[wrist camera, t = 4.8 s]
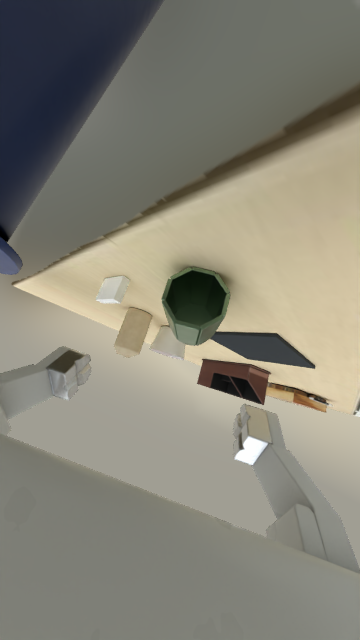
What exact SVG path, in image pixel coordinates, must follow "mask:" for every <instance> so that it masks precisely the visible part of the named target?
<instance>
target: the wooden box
mask: <svg viewBox="0 0 360 640" xmlns="http://www.w3.org/2000/svg"><path fill="white" fill-rule="evenodd" d="M266 395H267V396H270V397H273V398H276V399H279V400H282V401H286V402H289V403H293V404H297V405H300V406H304V407H307V408H311V409H315V410H318V411H322V412H326V407H327V406H332V407H333V405H332V404H329V403H326V400H324V399H321V398H319V397H317V396H314V395H308V394H306V393H304V392H303V391H299V390H296V389H292V388H289V387H285V386H280V385H276V384H272V383H267V389H266Z"/></svg>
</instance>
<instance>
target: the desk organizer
mask: <svg viewBox="0 0 360 640" xmlns="http://www.w3.org/2000/svg"><path fill="white" fill-rule="evenodd" d="M202 360H203V363H202V367H201V371H200V375H199V379H198V383H197V384H200V385H203V386H206V387H209V388H212V389H215V390H219V391H222V392H225V393H228V394H231V395H234V396H237V397H240V398H243V399H246V400H249V401H253V402H256V403H258V404H262V405H264V401H265V395H266V389H267V383H268V377H269V374H271V373H270V372H267V371H265V370H262V369H260V368H257V367H255V366H253V365H250V364H240V363H231V362H222V361H214V360H205V359H202Z"/></svg>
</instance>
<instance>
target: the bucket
mask: <svg viewBox="0 0 360 640" xmlns="http://www.w3.org/2000/svg"><path fill="white" fill-rule="evenodd" d="M229 293H230V291H229V290H228V288H227V287H226V285H225V284H224V282H223V281H222V279H221V278H220V276H219V275H218V274H215V272H214V271H209V270H205V269H201V268H197V267H193V268H191V267H189V268H187V269H185V270H183V271H181V272H179V273H177V274H175V275H173V276H171V279H168V282H167V285H166V288H165V291H164V293H163V296H162V304H163V307H164V310H165V314H166V317H167V320H168V323H169V326H170V328H171V330H172V332H173V334H174V336H175V337H176V339H177V340H179V342H182V343H184V344H187V345H193V346H195V345H199V344H202V343H204V342H206V341H207V340H208V339H210V338H212V336H213V335H214V333H215V332H216V330H217V329H218V327H219V325H220V324H221V322H222V321H223V319H224V317H225V315H226V311H227V307H228V303H229V299H230V294H229Z"/></svg>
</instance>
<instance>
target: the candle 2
mask: <svg viewBox="0 0 360 640" xmlns="http://www.w3.org/2000/svg"><path fill="white" fill-rule="evenodd" d="M149 349H150V350H152V351H154V352H157V353H160V354H163V355H166V356H169V357H172V358H176V359H181V360H184V353H185V344H184V343H182V342H179V340H177V339H176V337H175V336H174V334H173V332H172V330H171V328H170V327H167V326H163V327H161V328H160V330H159V332H158V333H157V335H156V337H155V339H154V341H153V343H152V344H151V346H150V348H149Z"/></svg>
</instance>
